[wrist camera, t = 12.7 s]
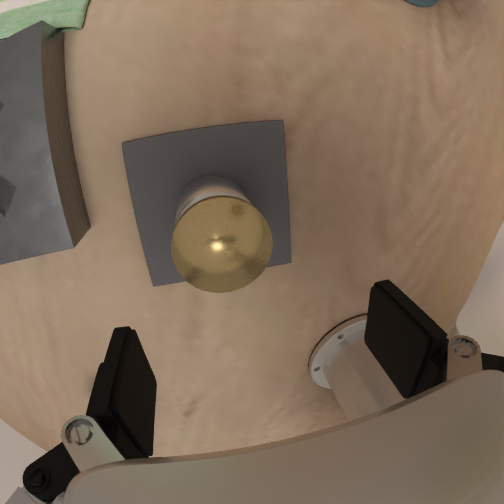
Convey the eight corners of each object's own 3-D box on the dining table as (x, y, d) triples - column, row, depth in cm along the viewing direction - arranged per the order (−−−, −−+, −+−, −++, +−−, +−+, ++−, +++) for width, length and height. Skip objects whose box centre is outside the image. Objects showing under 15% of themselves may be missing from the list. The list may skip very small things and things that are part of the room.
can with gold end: (242, 167, 23) (269, 192, 16) (248, 233, 26) (274, 283, 19) (170, 178, 23) (162, 208, 15) (182, 244, 25) (182, 299, 18)
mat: (280, 120, 23) (283, 120, 22) (289, 259, 29) (291, 262, 28) (123, 142, 21) (121, 143, 21) (153, 283, 27) (153, 286, 26)
